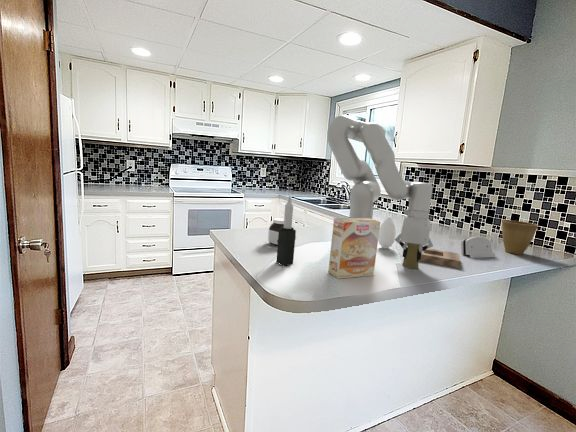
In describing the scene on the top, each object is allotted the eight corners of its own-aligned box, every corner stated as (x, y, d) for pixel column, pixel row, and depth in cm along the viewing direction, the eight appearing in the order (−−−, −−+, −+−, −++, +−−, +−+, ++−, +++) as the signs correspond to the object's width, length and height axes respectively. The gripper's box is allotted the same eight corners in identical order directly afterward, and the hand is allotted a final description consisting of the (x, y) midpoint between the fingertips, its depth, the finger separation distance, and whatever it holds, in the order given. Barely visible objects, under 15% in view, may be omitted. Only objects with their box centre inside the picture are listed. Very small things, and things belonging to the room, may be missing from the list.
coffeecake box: (338, 279, 105) (344, 221, 102) (327, 271, 111) (332, 217, 108) (374, 275, 111) (381, 221, 108) (362, 269, 117) (368, 217, 114)
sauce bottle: (375, 245, 156) (380, 209, 153) (391, 247, 155) (396, 210, 152) (377, 249, 148) (382, 211, 145) (395, 251, 147) (400, 213, 144)
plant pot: (538, 256, 158) (545, 225, 155) (515, 256, 154) (522, 224, 152) (511, 248, 172) (517, 219, 170) (489, 248, 168) (495, 219, 166)
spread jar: (266, 245, 139) (267, 219, 138) (271, 239, 150) (273, 215, 149) (292, 248, 138) (295, 222, 136) (296, 242, 149) (298, 218, 147)
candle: (284, 260, 121) (290, 195, 117) (294, 263, 117) (300, 197, 113) (275, 262, 117) (279, 195, 113) (284, 266, 114) (289, 197, 110)
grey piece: (470, 258, 146) (467, 236, 147) (461, 258, 150) (458, 237, 151) (495, 256, 152) (492, 235, 153) (486, 257, 156) (483, 236, 158)
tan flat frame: (407, 258, 136) (408, 251, 136) (409, 251, 149) (410, 245, 148) (459, 268, 128) (460, 261, 127) (457, 259, 140) (458, 253, 140)
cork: (415, 264, 128) (419, 238, 126) (420, 269, 122) (424, 242, 120) (400, 263, 129) (404, 237, 127) (404, 268, 123) (408, 240, 121)
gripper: (394, 212, 122) (388, 258, 125) (441, 218, 115) (434, 266, 118) (396, 210, 129) (390, 253, 132) (441, 216, 122) (434, 261, 125)
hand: (411, 259), depth 125 cm, fingers closed on cork, 4 cm apart
